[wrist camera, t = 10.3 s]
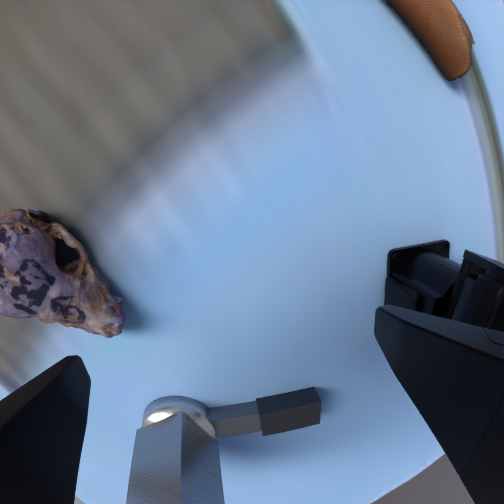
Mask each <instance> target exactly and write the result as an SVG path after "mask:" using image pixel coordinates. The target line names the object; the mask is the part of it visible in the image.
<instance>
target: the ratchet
mask: <svg viewBox="0 0 504 504" xmlns="http://www.w3.org/2000/svg"><path fill="white" fill-rule="evenodd" d="M181 410H182V411H184V412H185V413H186V414H187V415H188V416H189V417H190V418H191V419H192V420H193V421H195V422H196V423H197V424H198V425H199V426H200V427H201V428H203V429H204V430H205V431H206V432H207V433H208V434H210V435H211V436H212V437H213V438H214V439H215V438H219V437H227V436H234V435H240V434H247V433H253V432H258V431H262V434H263V436H266V435H271V434H276V433H281V432H286V431H290V430H295V429H299V428H303V427H307V426H311V425H315V424H319V423H320V411H321V401H320V399H319V396H318V394H317V392H316V390H315V388H314V387H311V388H307V389H302V390H298V391H293V392H289V393H284V394H279V395H274V396H269V397H264V398H258V399H256V401H255V402H249V403H243V404H237V405H230V406H223V407H216V408H207V407H206V406H205V405H203V404H202V403H200V402H198V401H196V400H194V399H191V398H187V397H181V396H168V397H162V398H159V399H156V400H154V401H153V402H151V403H150V404H149V405H148V406H147V407H146V409H145V411H144V416H143V422H142V427H145V426H147V425H150V424H152V423H154V422H157V421H159V420H161V419H164V418H166V417H168V416H170V415H173V414H175V413H177V412H179V411H181Z"/></svg>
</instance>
